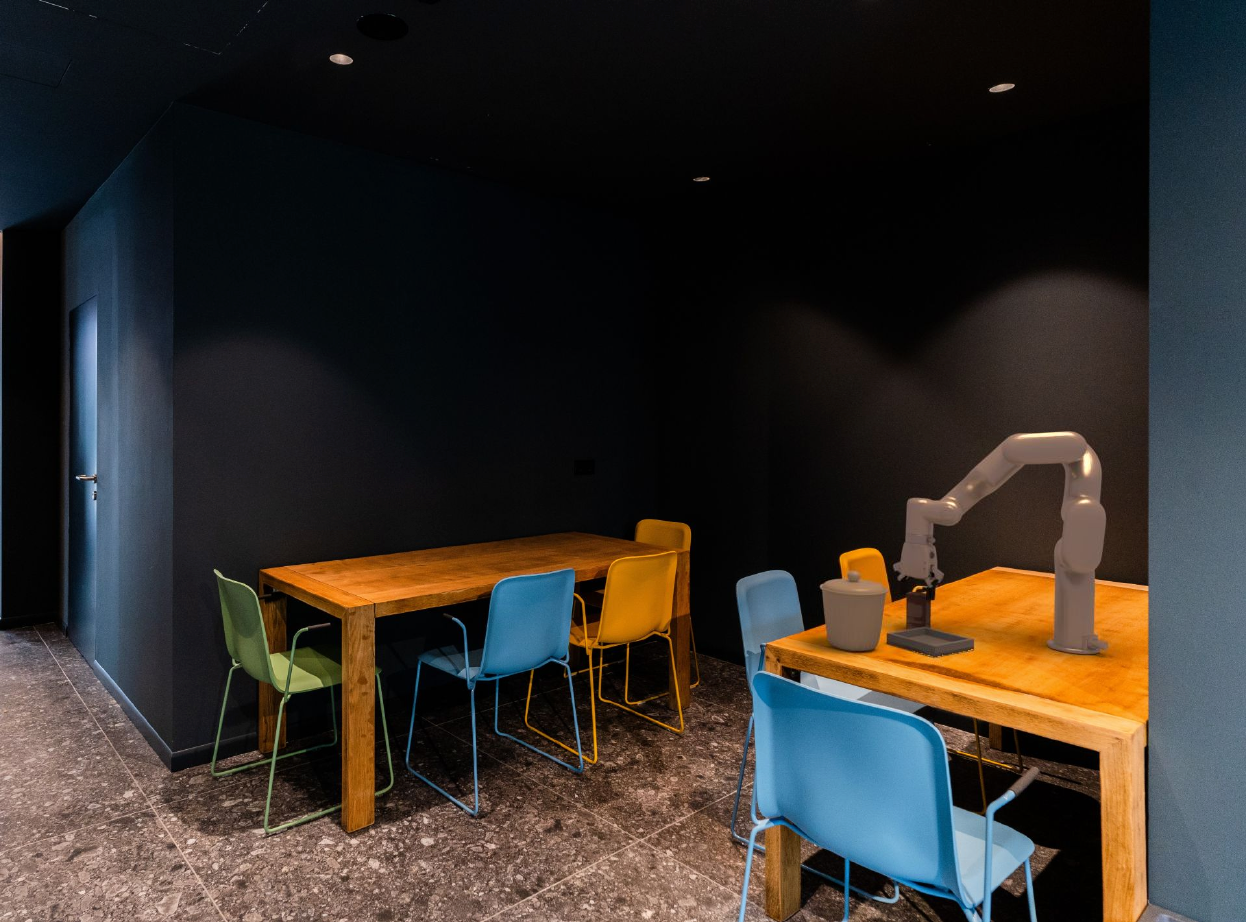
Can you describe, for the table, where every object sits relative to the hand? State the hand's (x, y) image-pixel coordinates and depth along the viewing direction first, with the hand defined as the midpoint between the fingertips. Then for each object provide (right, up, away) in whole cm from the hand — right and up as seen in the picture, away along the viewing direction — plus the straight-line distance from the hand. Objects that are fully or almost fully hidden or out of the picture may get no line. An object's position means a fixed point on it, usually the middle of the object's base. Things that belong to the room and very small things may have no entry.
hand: (916, 596), depth 225 cm
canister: (-24, -11, -16) cm, 31 cm away
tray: (-2, -11, -15) cm, 19 cm away
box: (0, -11, 0) cm, 11 cm away
